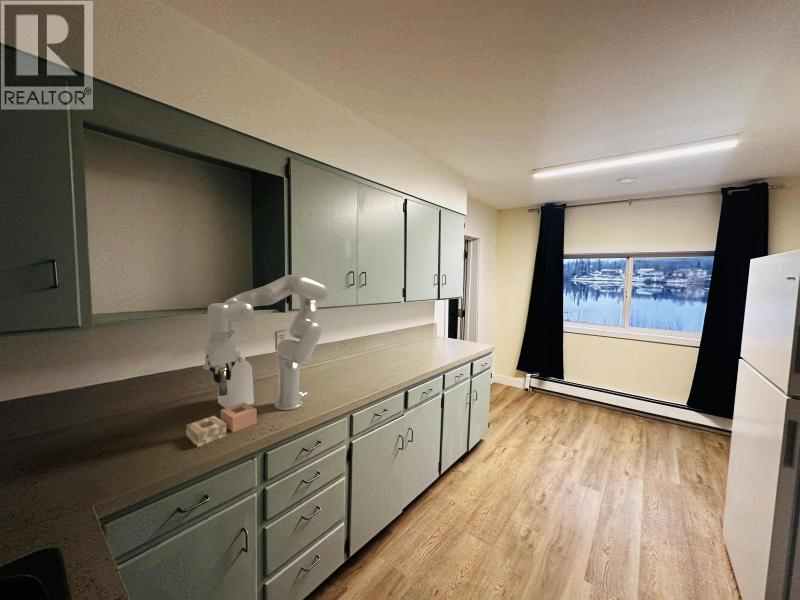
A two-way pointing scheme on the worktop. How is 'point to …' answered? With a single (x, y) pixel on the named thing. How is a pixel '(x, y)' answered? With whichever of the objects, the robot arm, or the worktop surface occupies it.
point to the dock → (239, 416)
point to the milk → (238, 384)
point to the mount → (206, 430)
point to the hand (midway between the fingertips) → (222, 380)
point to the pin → (223, 381)
